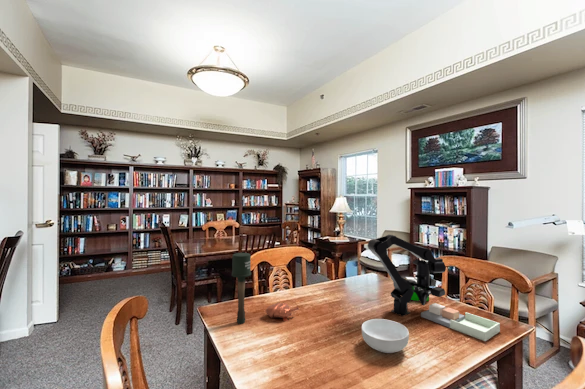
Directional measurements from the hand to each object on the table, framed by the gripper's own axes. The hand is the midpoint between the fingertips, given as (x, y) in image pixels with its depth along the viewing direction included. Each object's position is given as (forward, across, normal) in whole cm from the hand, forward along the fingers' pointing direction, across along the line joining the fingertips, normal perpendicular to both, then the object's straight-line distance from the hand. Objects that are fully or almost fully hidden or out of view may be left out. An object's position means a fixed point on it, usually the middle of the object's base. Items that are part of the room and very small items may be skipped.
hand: (423, 305), depth 136 cm
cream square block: (+1, -7, 0) cm, 7 cm away
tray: (+3, -22, 0) cm, 23 cm away
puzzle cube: (+3, +12, -14) cm, 19 cm away
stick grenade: (+3, +38, +79) cm, 88 cm away
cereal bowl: (+3, -10, +43) cm, 44 cm away
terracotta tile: (+1, -13, 0) cm, 13 cm away
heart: (+3, +33, +60) cm, 69 cm away
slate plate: (+3, -10, 0) cm, 10 cm away
